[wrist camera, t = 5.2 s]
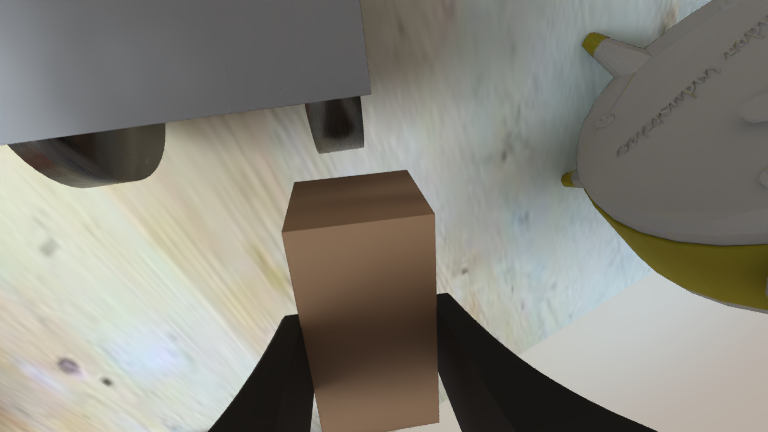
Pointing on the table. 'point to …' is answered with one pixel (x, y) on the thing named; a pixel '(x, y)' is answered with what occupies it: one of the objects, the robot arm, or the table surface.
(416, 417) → the block
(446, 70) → the table surface
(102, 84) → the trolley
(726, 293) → the alarm clock
